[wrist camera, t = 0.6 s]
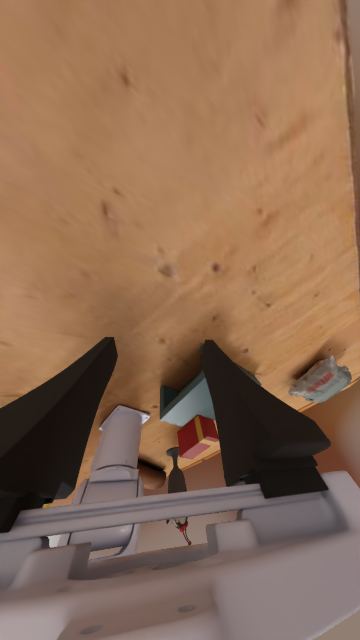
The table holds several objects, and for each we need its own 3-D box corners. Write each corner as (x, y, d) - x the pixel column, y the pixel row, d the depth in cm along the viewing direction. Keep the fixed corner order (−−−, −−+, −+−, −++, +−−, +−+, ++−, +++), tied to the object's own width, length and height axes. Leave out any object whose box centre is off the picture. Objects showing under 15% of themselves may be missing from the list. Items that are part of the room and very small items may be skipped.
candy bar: (188, 435, 38) (192, 459, 33) (177, 432, 36) (179, 457, 32) (212, 416, 35) (219, 439, 30) (201, 412, 34) (207, 436, 29)
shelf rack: (212, 409, 34) (221, 438, 28) (159, 389, 28) (159, 420, 23) (254, 375, 30) (274, 401, 25) (203, 343, 24) (215, 367, 19)
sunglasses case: (106, 467, 39) (108, 494, 33) (125, 443, 41) (130, 465, 35) (146, 480, 46) (153, 504, 41) (160, 459, 49) (169, 479, 43)
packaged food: (280, 383, 32) (299, 403, 28) (321, 348, 29) (351, 365, 24) (298, 392, 35) (318, 412, 31) (338, 361, 32) (367, 378, 27)
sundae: (188, 452, 42) (200, 543, 29) (168, 458, 42) (171, 552, 29) (181, 443, 39) (192, 541, 26) (160, 450, 39) (159, 550, 26)
